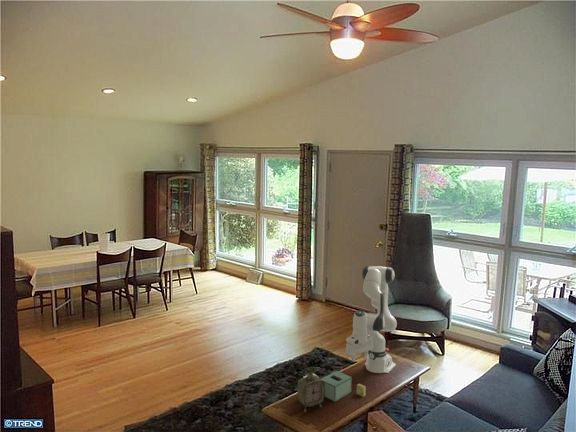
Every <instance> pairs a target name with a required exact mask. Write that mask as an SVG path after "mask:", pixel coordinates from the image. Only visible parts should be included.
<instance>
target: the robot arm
mask: <svg viewBox="0 0 576 432" xmlns="http://www.w3.org/2000/svg"><path fill="white" fill-rule="evenodd" d="M361 274H362V275H361V276H362V279H363V285H362V292H363V294H365V296H367V298H369V299H371V300H370V304H371V306H372V307H373V308H374V309H376V310H377V312H376V313H374V312H372V313H371V312H366V311H365V310H356V311H354V314H353V317H352V318H353V319H352V328H353V330H352V334H350V335H349V336H348V337H346V339H345V341H346V344H345V355H346V356H348V357H350V358H351V361H352V362H356V358H355V356H357V355H358V354H362V357H363V359H366V361H365V363H364V366H365V368H366V370H367V371H368V372H370V373H373V374H374V373H375V374H389V373H390V371H392V370H393V369H394V368H395V367H396V363H395V362H394V361H393V357H392V356H391V355H390V354H388V353H387V352H389V351H390V349H389V348H387V347H386V339H385V337H384V336H383V334H381V333H380V332H394V331H395V330H396V328H397V324H398V323H397V320H396V319H397V318H395V316H393V315H392V314H391V311H390V309H389V306H388V305H389V302H388V301H389V285H390V284H392V283H393V281H394V280H395V278H396V277H395V276H396V275H395V270H394V268H392V267H389V266H381V265H377V266H375V265H372V266H371V265H370V266H369V265H368V266H365V267H363V269H362V272H361Z"/></svg>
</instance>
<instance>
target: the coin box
mask: <svg viewBox="0 0 576 432" xmlns="http://www.w3.org/2000/svg"><path fill="white" fill-rule="evenodd" d="M320 379H321V380H323V381H324V384H325V397H324V398H326V399H329V400H330V401H332V402H334V403H336V402H337V401H339V400H341V399H343V398H344V397H346V396H348V395H350V394H351V393H352V381H353V380H352V376H349V375H347V374H345V373H343V372H341V371H338V370H336V371H334V372H332V373H329V374H328V375H325V376H323V377H322V378H320Z"/></svg>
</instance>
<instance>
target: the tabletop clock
mask: <svg viewBox="0 0 576 432" xmlns="http://www.w3.org/2000/svg"><path fill="white" fill-rule="evenodd" d="M310 369H314V371H310V372H309V373H308V370H310ZM316 371H317V368H316V367H314V366H310V367H307V368H306V369H305V374H306V375H307V377H305V378H303V377H302V378H300V379H299V380H298V381H297V388H296V393H297V400H298V401H299V402H300V404H302V406H304V409H303V412H304V413H306V412H307V408H309V407H315V406H317V405H319V408H322V407H323V405H322V404H321V403H323V402H324V401H325V398H326V397H325V384H324V381H323V380H321V378H320V376H318V375H317V376H318V377H317V376H314V375H313V373H314V374H315V373H316Z"/></svg>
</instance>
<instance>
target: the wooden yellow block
mask: <svg viewBox="0 0 576 432" xmlns="http://www.w3.org/2000/svg"><path fill="white" fill-rule="evenodd" d="M366 393H367V386H366V385H365V384H362V383H358V384H356V395H358V396H360V397H362V398H363V397H366V395H367V394H366Z"/></svg>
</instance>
